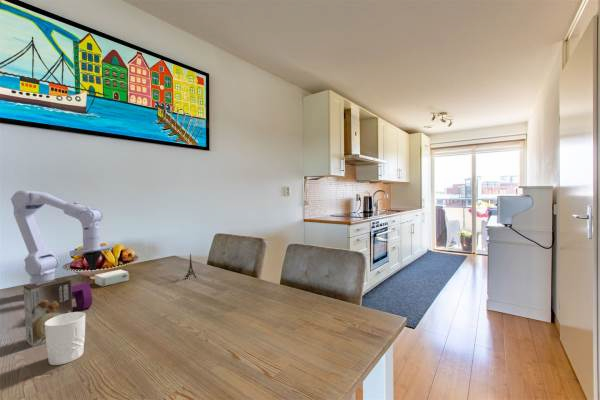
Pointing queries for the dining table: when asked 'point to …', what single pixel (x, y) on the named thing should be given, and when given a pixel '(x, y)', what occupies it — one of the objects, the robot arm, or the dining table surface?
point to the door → (115, 279)
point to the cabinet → (107, 275)
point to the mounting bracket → (82, 295)
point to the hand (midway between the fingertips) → (92, 269)
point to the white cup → (65, 337)
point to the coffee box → (45, 306)
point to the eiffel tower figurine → (191, 269)
